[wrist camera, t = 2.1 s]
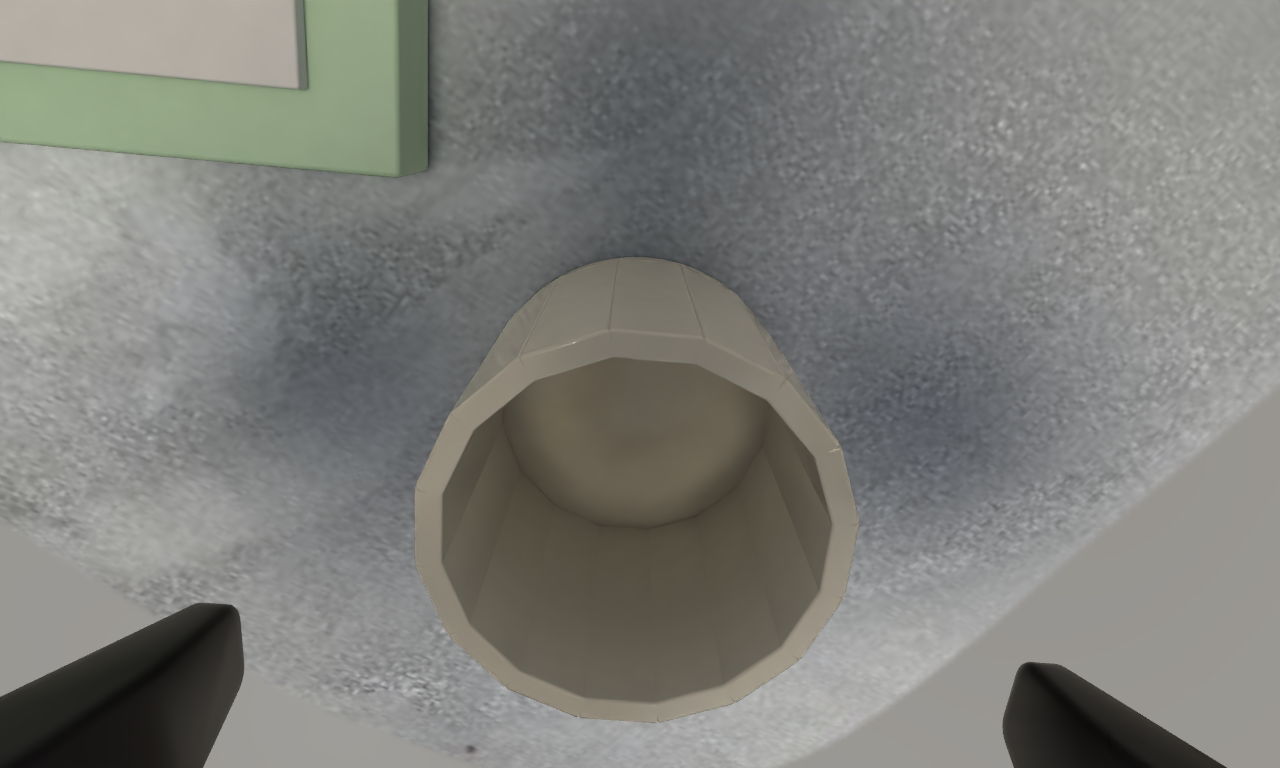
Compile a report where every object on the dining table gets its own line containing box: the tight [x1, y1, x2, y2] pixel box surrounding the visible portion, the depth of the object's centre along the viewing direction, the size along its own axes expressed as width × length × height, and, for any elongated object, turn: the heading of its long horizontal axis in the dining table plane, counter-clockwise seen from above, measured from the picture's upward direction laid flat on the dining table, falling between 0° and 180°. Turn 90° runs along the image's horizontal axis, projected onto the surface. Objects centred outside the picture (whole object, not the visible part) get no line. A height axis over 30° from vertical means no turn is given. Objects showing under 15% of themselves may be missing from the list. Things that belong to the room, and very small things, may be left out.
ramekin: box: [415, 257, 859, 723], centre depth 14 cm, size 6×6×6 cm
